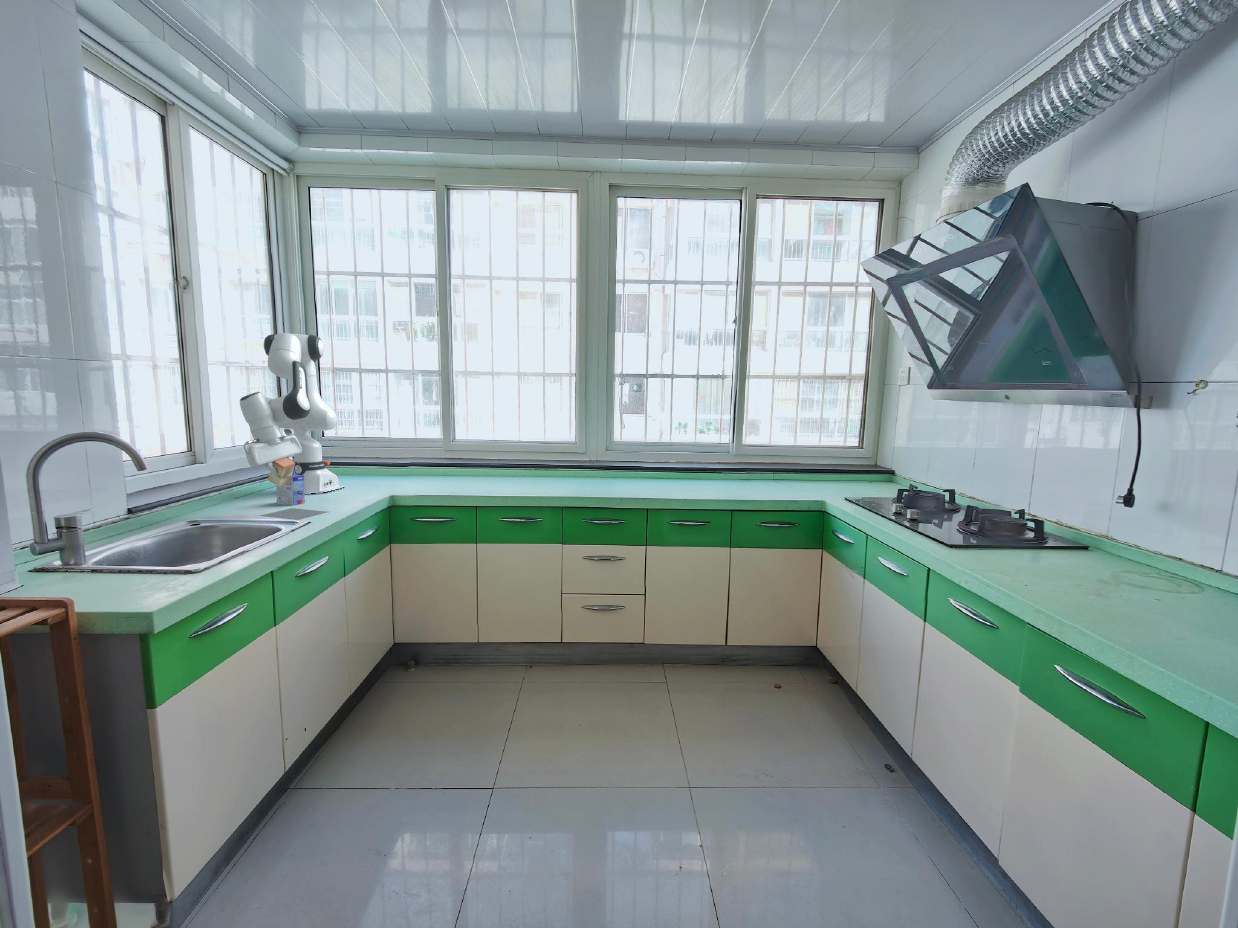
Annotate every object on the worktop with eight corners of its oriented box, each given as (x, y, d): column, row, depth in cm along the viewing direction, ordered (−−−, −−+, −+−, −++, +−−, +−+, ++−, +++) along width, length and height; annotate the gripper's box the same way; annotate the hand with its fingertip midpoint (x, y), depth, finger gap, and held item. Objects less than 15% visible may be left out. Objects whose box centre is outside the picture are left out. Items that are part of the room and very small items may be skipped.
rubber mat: (292, 509, 210) (291, 508, 210) (329, 513, 205) (329, 511, 205) (259, 516, 197) (259, 515, 197) (298, 521, 192) (298, 519, 192)
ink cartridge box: (306, 504, 220) (304, 469, 218) (293, 506, 215) (291, 471, 213) (288, 502, 223) (286, 467, 221) (276, 504, 218) (274, 469, 216)
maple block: (279, 476, 203) (284, 456, 200) (290, 482, 203) (295, 463, 199) (268, 479, 199) (273, 459, 195) (278, 486, 198) (283, 466, 195)
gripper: (248, 440, 186) (264, 477, 188) (296, 428, 205) (311, 462, 207) (235, 444, 188) (252, 481, 190) (284, 432, 207) (299, 466, 209)
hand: (283, 471), depth 199 cm, fingers closed on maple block, 5 cm apart
